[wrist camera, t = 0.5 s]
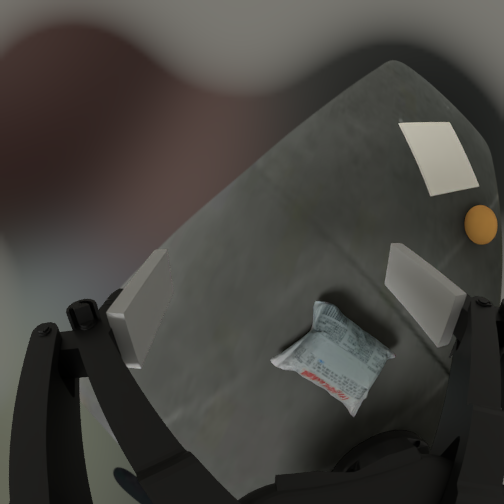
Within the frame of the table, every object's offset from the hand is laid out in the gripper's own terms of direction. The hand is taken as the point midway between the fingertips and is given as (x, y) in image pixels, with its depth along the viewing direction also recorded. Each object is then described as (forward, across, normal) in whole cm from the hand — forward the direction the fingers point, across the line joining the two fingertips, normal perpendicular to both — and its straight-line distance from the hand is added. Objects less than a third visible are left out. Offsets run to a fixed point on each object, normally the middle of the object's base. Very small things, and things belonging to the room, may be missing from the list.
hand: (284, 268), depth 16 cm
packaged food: (+9, -7, +16) cm, 20 cm away
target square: (+22, -28, -8) cm, 36 cm away
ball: (+14, -30, +1) cm, 33 cm away
